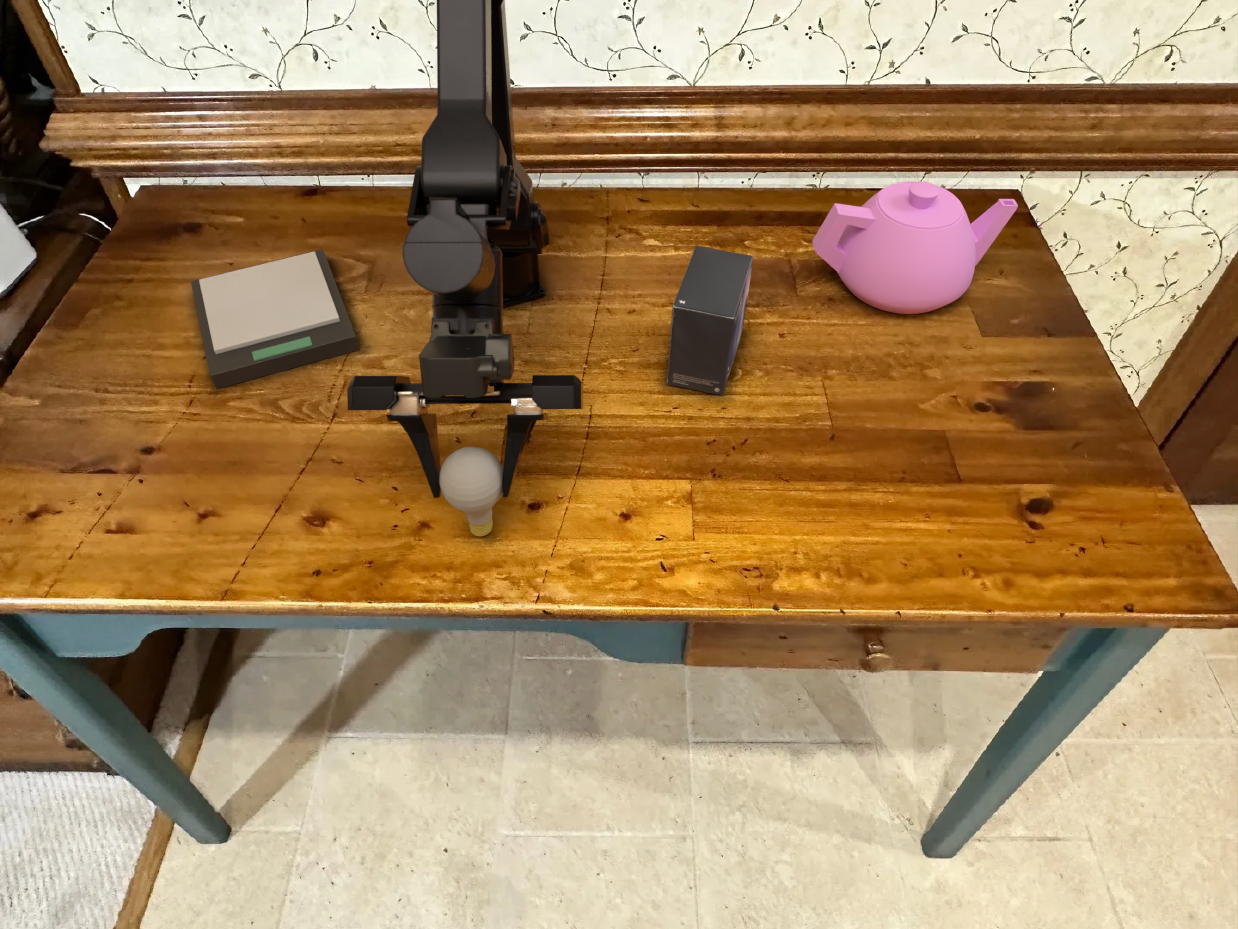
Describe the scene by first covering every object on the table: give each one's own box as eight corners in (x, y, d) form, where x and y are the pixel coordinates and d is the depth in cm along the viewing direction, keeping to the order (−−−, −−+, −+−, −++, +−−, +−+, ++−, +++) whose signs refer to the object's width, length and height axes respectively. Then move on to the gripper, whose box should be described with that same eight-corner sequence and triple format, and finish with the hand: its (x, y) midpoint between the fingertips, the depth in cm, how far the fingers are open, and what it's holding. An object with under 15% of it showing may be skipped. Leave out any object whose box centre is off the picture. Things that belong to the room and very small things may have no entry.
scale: (327, 262, 105) (321, 244, 103) (360, 349, 95) (354, 331, 93) (196, 294, 101) (188, 276, 99) (216, 389, 91) (207, 371, 89)
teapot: (823, 329, 97) (844, 236, 88) (790, 245, 107) (806, 154, 98) (1015, 315, 99) (1055, 223, 90) (965, 234, 109) (996, 143, 100)
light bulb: (524, 523, 80) (514, 450, 72) (487, 565, 77) (473, 493, 69) (477, 498, 82) (463, 424, 74) (439, 538, 79) (420, 465, 71)
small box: (726, 398, 90) (736, 319, 82) (664, 386, 91) (668, 306, 83) (744, 332, 97) (756, 253, 89) (687, 322, 98) (693, 243, 90)
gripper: (321, 297, 64) (327, 510, 65) (577, 296, 64) (579, 509, 65) (364, 312, 75) (369, 493, 76) (583, 311, 75) (584, 492, 76)
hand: (471, 497), depth 73 cm, fingers closed on light bulb, 5 cm apart
